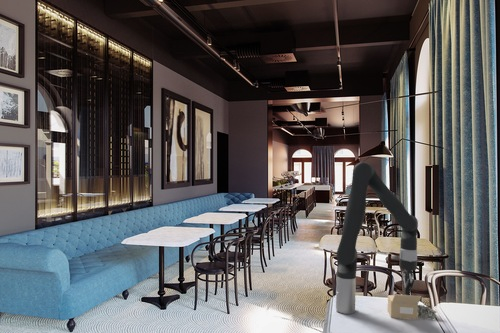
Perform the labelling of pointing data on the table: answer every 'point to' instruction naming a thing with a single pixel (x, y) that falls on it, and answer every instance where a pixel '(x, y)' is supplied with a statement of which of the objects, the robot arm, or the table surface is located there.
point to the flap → (406, 299)
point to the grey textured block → (423, 310)
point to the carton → (402, 309)
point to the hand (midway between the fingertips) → (407, 295)
